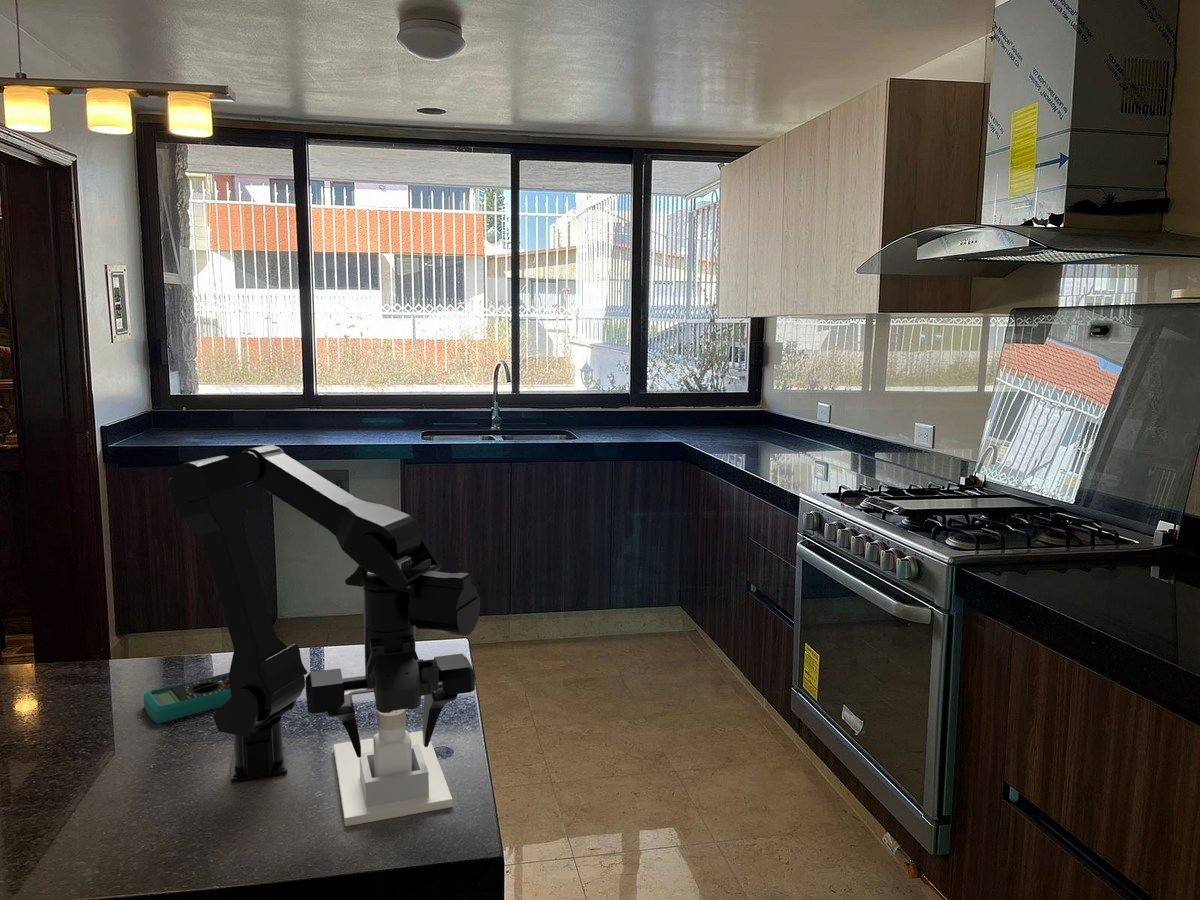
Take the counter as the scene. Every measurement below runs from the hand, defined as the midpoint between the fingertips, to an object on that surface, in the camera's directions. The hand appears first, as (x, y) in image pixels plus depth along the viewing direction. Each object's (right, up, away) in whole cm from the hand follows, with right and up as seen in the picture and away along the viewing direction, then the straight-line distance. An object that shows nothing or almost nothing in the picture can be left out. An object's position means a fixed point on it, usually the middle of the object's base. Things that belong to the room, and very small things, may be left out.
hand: (392, 750), depth 105 cm
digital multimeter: (-33, -2, +25) cm, 42 cm away
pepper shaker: (0, -5, +1) cm, 5 cm away
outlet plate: (-1, -5, +5) cm, 7 cm away
